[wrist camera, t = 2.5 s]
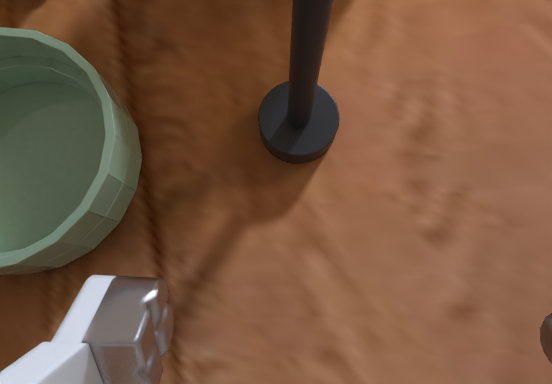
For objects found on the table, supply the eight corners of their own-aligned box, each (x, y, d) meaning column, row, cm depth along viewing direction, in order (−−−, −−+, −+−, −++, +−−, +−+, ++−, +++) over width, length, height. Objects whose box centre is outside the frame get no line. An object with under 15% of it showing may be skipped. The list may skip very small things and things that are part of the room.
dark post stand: (343, 155, 30) (415, 15, 14) (268, 170, 29) (255, 47, 14) (325, 85, 31) (373, -116, 15) (253, 100, 30) (225, -89, 15)
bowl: (158, 247, 28) (129, 240, 23) (-63, 294, 28) (-145, 298, 22) (129, 53, 31) (97, 7, 26) (-70, 92, 31) (-144, 53, 25)
